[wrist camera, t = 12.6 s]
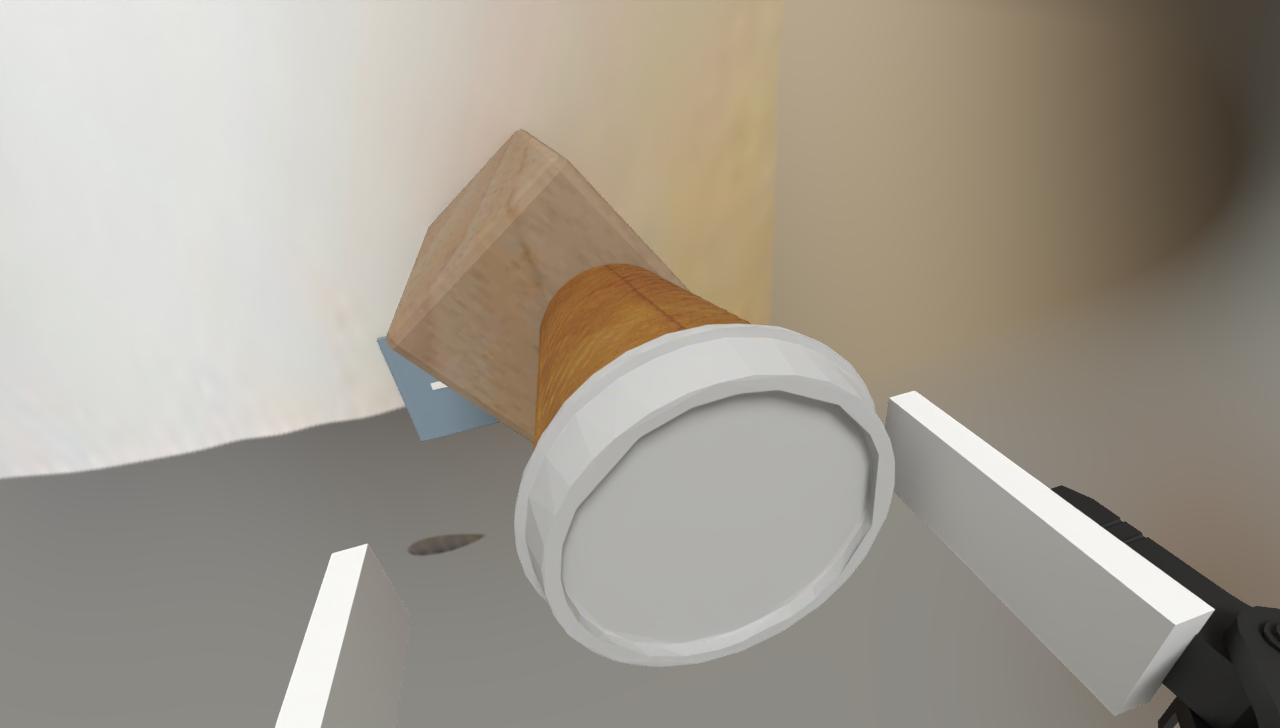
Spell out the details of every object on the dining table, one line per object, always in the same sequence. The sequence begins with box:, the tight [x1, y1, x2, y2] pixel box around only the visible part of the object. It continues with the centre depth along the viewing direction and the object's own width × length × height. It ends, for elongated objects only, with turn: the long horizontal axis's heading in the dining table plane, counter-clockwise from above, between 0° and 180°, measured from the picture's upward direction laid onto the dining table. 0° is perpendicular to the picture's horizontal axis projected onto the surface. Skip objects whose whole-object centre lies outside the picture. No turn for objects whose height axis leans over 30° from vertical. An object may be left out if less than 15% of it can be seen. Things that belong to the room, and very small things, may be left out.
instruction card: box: [377, 337, 500, 441], centre depth 44 cm, size 18×10×1 cm, turn 98°
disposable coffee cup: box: [514, 264, 895, 667], centre depth 17 cm, size 10×10×12 cm
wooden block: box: [386, 129, 690, 443], centre depth 30 cm, size 10×10×20 cm
